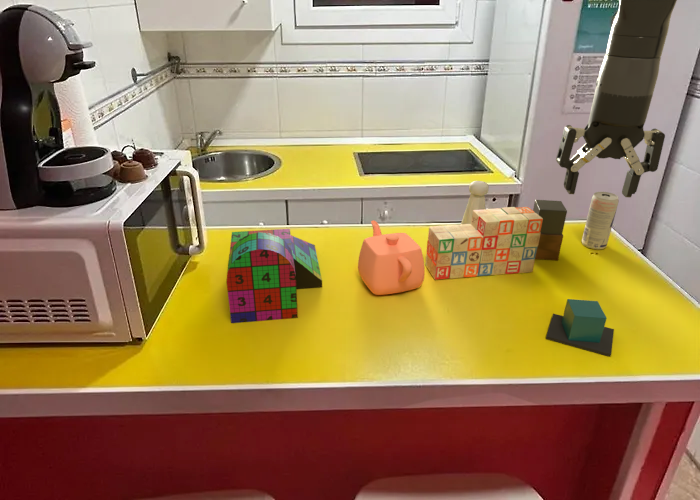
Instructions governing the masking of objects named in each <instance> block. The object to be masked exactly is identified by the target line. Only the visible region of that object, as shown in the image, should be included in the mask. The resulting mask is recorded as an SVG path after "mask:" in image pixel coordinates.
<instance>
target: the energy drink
mask: <svg viewBox="0 0 700 500" xmlns="http://www.w3.org/2000/svg"><path fill="white" fill-rule="evenodd" d="M618 206H619V196H618V195H617V194H615V193H612V192H608V191H596V192H594V193H593V195H592V196H591V200H590V204H589V209H588V212H587V216H586V221H585V226H584V230H583V234H582V236H581V243H582V246H584V247H586V248H588V249H590V250H591V249H592V250H597V251H598V250H599V251H600V250H604V249H606V248H607V247H608V243H609V239H610V235H611V232H612V227H613V225H614V220H615V217H616V213H617V209H618Z"/></svg>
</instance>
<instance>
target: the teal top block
mask: <svg viewBox="0 0 700 500" xmlns="http://www.w3.org/2000/svg"><path fill="white" fill-rule="evenodd" d="M562 316H563V319H562V325H563V328H564V330H565V333H566V335H567V338H568V340H572V341H584V342H596V343H600V340H601V336H602V333H603V329H604V327H606V322H607V319H608V318H607V316H606V313H605V312H604V310H603V308H602V306H601V304H600V303H599V301H598V300H588V299H586V300H585V299H573V298H567V299H566V303H565V306H564V311H563V315H562Z"/></svg>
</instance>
